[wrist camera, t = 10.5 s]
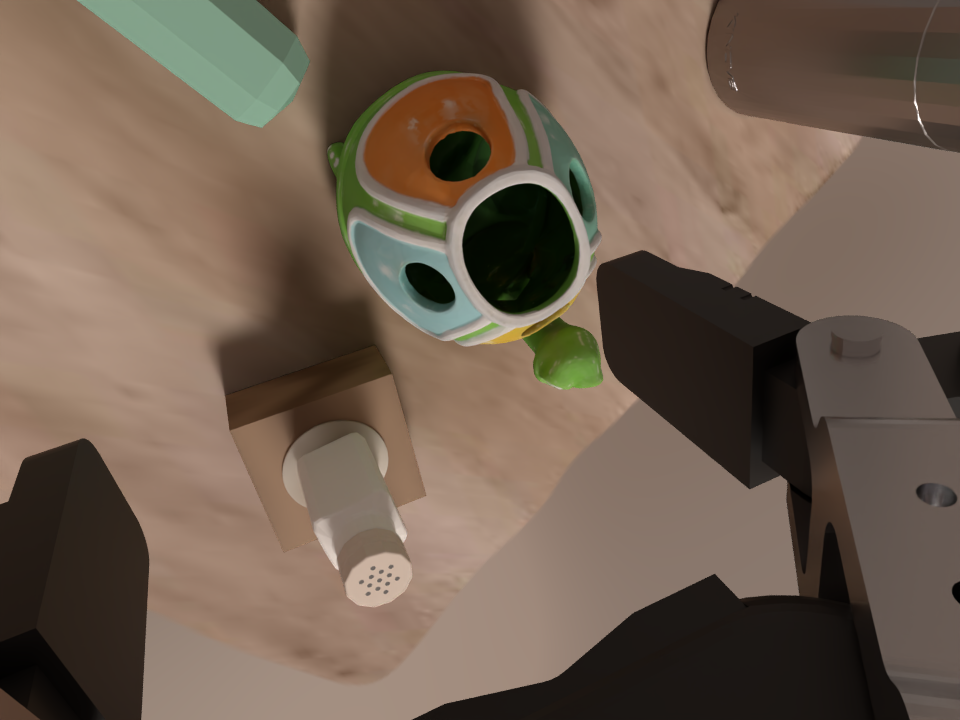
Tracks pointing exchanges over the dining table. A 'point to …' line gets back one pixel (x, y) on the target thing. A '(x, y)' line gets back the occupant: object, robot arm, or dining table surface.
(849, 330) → the robot arm
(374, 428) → the base
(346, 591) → the salt shaker
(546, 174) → the turtle holder
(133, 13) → the container
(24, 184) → the dining table surface
